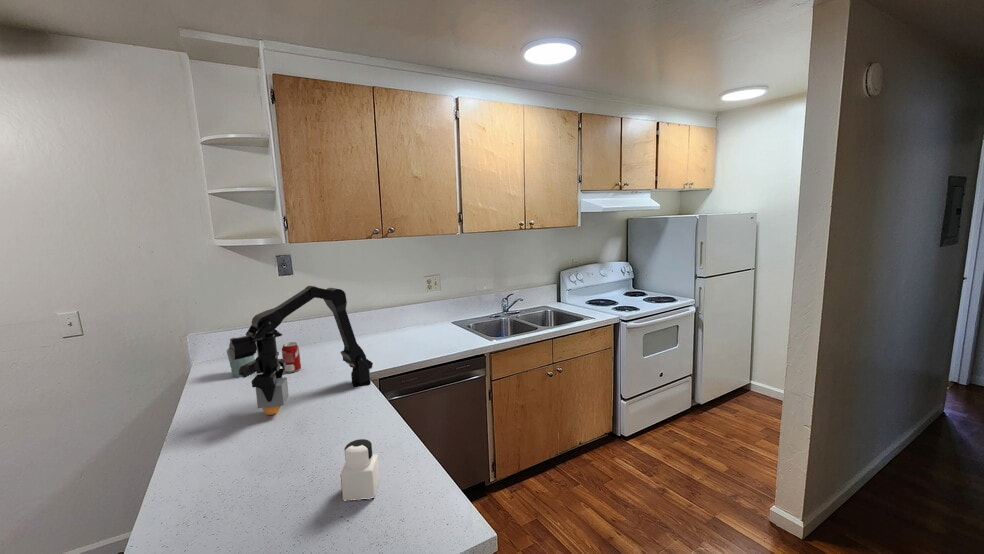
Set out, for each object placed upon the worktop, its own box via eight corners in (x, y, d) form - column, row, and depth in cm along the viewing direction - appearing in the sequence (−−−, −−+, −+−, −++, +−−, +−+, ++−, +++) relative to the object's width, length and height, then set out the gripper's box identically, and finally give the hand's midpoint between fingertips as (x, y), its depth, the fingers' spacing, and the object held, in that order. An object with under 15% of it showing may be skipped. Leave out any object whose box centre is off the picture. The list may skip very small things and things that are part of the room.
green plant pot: (262, 371, 183) (259, 345, 181) (240, 380, 173) (236, 352, 172) (247, 368, 187) (243, 342, 185) (224, 377, 178) (220, 349, 176)
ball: (261, 406, 142) (275, 414, 144) (258, 412, 137) (272, 420, 139) (270, 394, 143) (284, 401, 144) (267, 400, 138) (281, 407, 139)
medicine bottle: (350, 483, 102) (346, 436, 101) (380, 480, 103) (376, 434, 101) (342, 502, 95) (337, 453, 94) (374, 499, 96) (370, 450, 94)
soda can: (294, 373, 178) (291, 346, 176) (280, 373, 180) (277, 346, 178) (304, 368, 185) (301, 341, 183) (291, 367, 186) (288, 341, 184)
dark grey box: (288, 395, 146) (286, 377, 145) (283, 405, 138) (281, 385, 137) (264, 398, 144) (262, 379, 143) (257, 408, 136) (255, 388, 135)
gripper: (248, 346, 145) (254, 389, 148) (230, 364, 128) (236, 412, 130) (283, 342, 148) (288, 384, 150) (270, 359, 130) (276, 407, 132)
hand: (272, 396), depth 141 cm, fingers closed on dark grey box, 8 cm apart
